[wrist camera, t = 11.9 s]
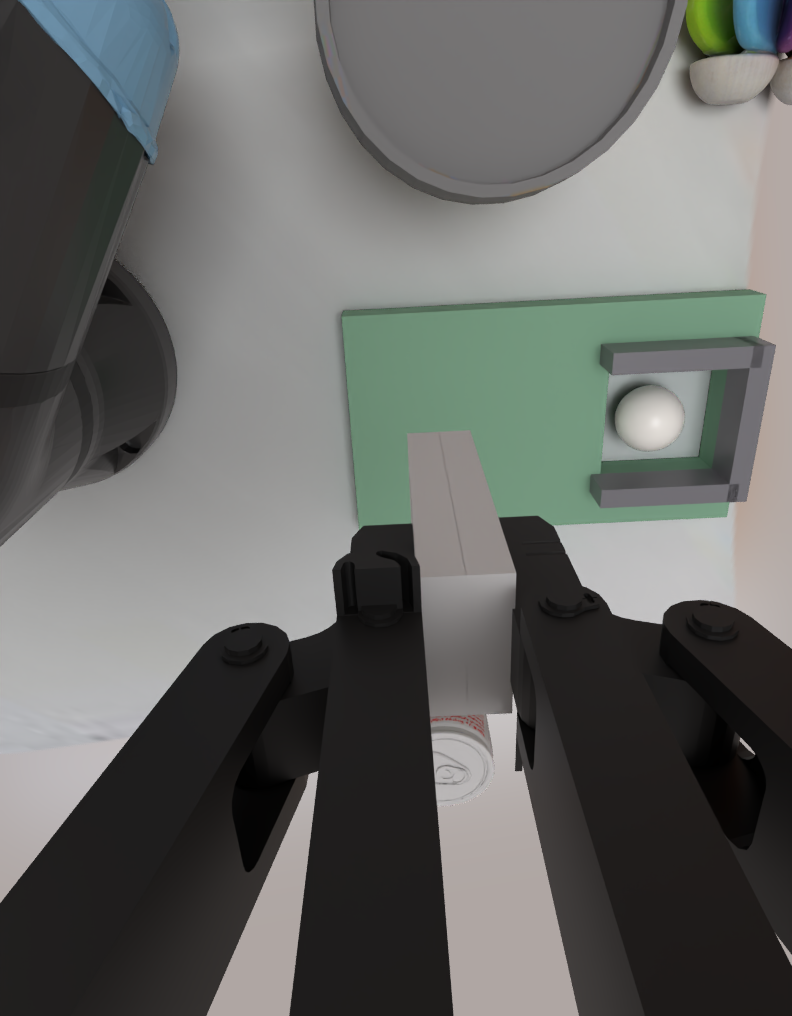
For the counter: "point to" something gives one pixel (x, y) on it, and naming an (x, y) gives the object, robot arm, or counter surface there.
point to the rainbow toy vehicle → (741, 49)
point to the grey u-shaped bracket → (735, 430)
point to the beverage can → (461, 757)
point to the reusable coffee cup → (493, 85)
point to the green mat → (520, 396)
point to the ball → (649, 418)
